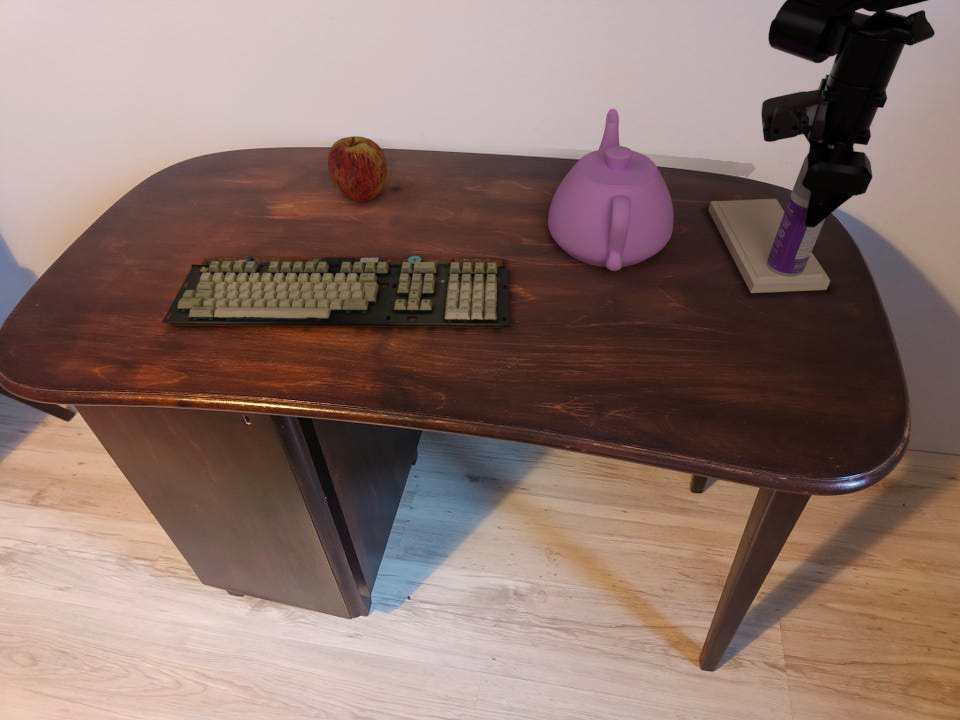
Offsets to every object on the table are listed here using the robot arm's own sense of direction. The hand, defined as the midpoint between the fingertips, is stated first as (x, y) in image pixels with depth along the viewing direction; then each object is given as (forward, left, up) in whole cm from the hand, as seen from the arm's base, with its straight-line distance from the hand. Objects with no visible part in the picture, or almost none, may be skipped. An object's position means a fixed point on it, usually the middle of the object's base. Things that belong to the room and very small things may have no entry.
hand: (809, 206), depth 78 cm
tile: (+3, -7, -11) cm, 13 cm away
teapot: (+25, -4, -11) cm, 27 cm away
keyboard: (+55, +21, -11) cm, 60 cm away
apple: (+65, -3, -11) cm, 66 cm away
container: (0, 0, -9) cm, 9 cm away
